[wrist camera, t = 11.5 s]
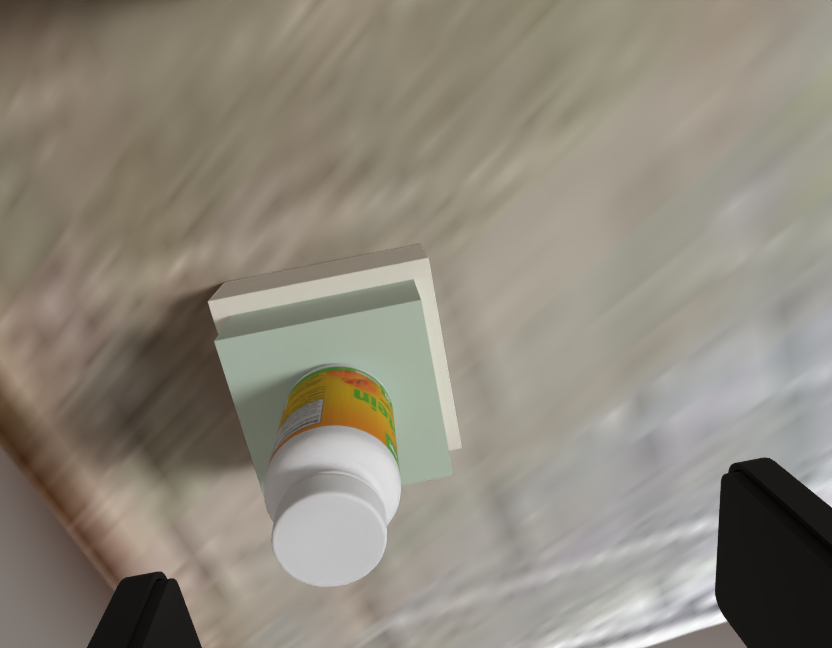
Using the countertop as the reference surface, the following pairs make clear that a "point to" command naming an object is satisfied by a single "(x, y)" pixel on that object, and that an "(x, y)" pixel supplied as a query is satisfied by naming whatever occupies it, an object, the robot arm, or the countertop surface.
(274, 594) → the countertop surface
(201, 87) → the countertop surface
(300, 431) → the supplement bottle
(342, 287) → the block
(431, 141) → the countertop surface
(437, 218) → the countertop surface
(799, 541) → the robot arm
